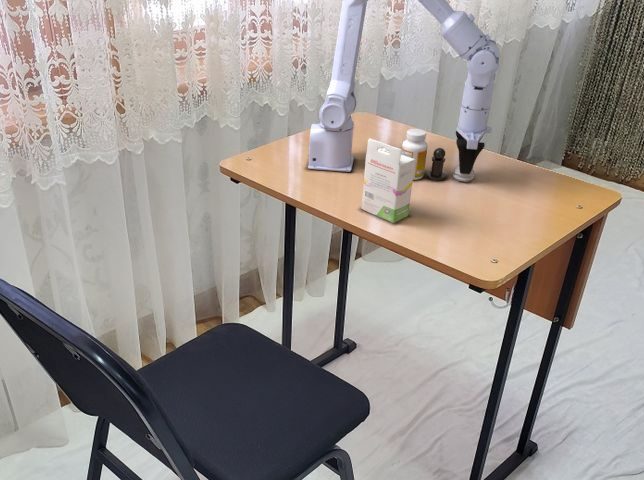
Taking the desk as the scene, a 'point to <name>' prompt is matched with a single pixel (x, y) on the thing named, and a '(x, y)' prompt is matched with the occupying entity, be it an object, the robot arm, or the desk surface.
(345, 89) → the robot arm
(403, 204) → the ink box
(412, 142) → the supplement bottle
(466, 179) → the rook chess piece
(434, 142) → the desk surface
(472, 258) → the desk surface
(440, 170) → the ebony pawn
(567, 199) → the desk surface
